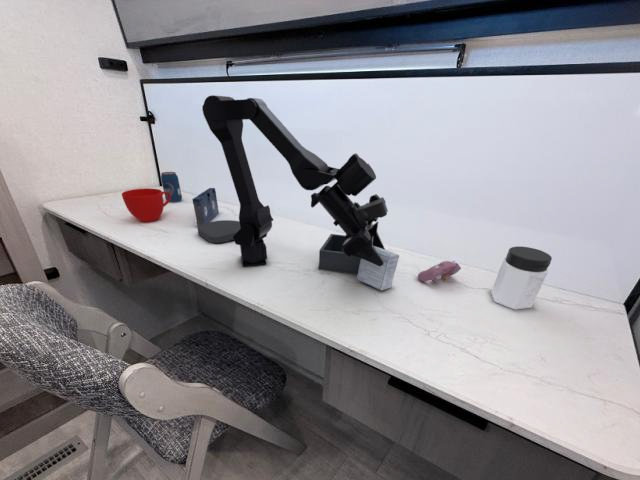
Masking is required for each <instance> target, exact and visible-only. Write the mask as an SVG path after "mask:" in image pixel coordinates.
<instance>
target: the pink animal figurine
mask: <svg viewBox="0 0 640 480" xmlns="http://www.w3.org/2000/svg"><path fill="white" fill-rule="evenodd" d="M461 269H462V267H461V266H460V264H459V263H458V262H456V261H455V260H453V261H449V260H444V261H441V262H439V263H438V264H435V265H433V266H430V267H429V268H428V269H426V270H422V271H420V272H419V273H418V274H417V279H418V280H419V281H420V282H429V281H431V282H432V283H433V284H435V283H437V282H439V281H440V280H441V281H445V280H448V279H449V278H450V277H452V276H454V275H455V274H457V273H458V272H460V270H461Z"/></svg>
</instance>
